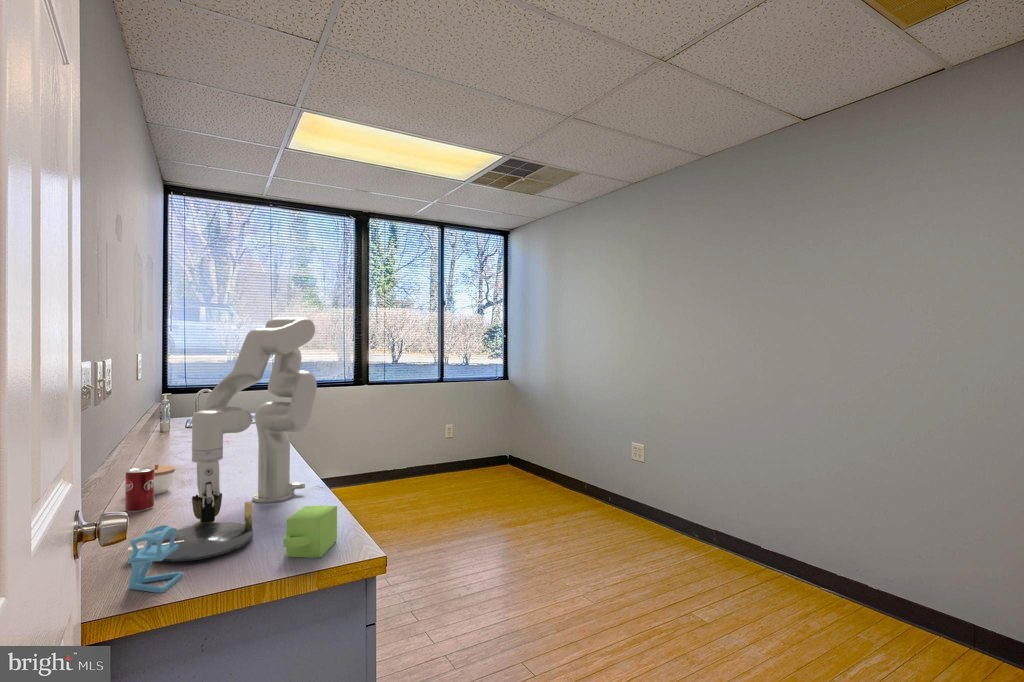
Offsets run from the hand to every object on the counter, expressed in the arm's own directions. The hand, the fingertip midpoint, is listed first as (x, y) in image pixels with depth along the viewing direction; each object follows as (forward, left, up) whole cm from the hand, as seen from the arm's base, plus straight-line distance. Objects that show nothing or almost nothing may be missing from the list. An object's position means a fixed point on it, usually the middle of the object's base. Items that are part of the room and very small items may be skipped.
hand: (206, 517), depth 143 cm
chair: (+12, +36, -2) cm, 38 cm away
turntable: (+2, +19, -1) cm, 19 cm away
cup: (0, 0, -2) cm, 2 cm away
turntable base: (+6, +19, -2) cm, 20 cm away
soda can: (+16, -26, -2) cm, 31 cm away
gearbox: (-20, +34, -2) cm, 40 cm away
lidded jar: (+12, -45, -2) cm, 47 cm away
